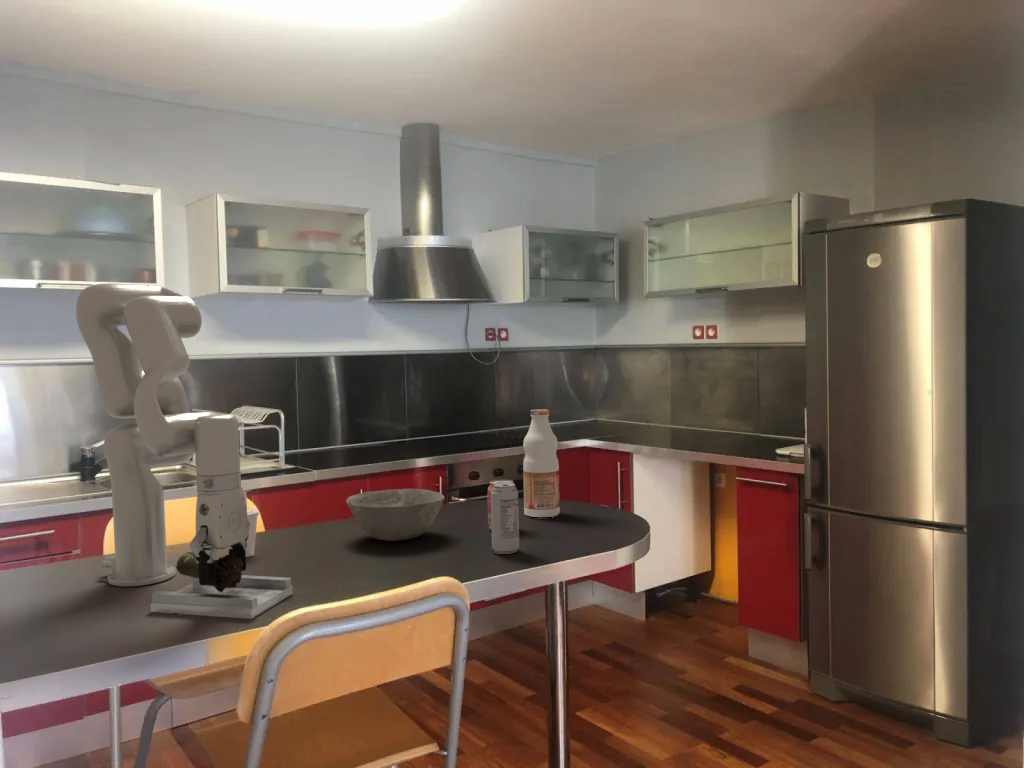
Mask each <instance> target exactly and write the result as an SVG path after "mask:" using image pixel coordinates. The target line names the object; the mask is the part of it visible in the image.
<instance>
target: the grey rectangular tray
mask: <svg viewBox="0 0 1024 768" xmlns="http://www.w3.org/2000/svg"><path fill="white" fill-rule="evenodd" d="M191 578H192V579H191V580H192V581H191V582H192V583H189V584H188V585H186V586H184V587H181V588H179V589H178V590H176V591H170V590H169V591H166V590H156V591H154V592H152V593H151V603H150V612H151V613H159V612H160V613H161V614H173V613H178V615H190V616H191V615H192V616H207V617H216V618H232V619H233V618H235V619H247V620H252V619H254V618H256V617H257V616H258V615H261V614H262V613H264V612H265V611H267V610H269V609H270V608H272V607H273V606H275V605H277V604H278V603H280V602H282V601H284V600H285V599H287V598H288V597H290V596H291V595H293V594H294V593H293V591H294V590H293V585H292V578H291V577H283V576H281V577H280V576H266V575H260V576H259V575H247V574H242V578H241V580H240V583H236V586H237V587H236V588H225V589H224V590H223V592H219V591H218V590H217V589H216V588H215V587H214V586H213V585H200V583H199V579H198V578H194V577H191Z"/></svg>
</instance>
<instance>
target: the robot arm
mask: <svg viewBox="0 0 1024 768" xmlns="http://www.w3.org/2000/svg"><path fill="white" fill-rule="evenodd" d="M75 306H76V307H75V315H76V316H75V318H76V321H77V325H78V330H79V332H80V334H81V337H82V339H83V341H84V342H85V344H86V346H87V348H88V350H89V353H90V355H91V359H92V361H93V367H94V372H95V376H96V381H97V384H98V385H97V386H98V389H99V393H100V398H101V401H102V405H103V408H104V411H105V412H106V413H107V415H109V416H110V417H112V418H115V419H135V421H136V422H131V423H130V422H129V423H124V424H122V425H121V424H120V425H118V426H116V427H113V428H112V429H111V430H109V431H108V433H107V434H106V436H105V438H104V440H103V441H104V442H103V451H104V455H105V459H106V464H107V468H108V472H109V473H108V474H109V478H110V480H109V481H110V486H111V503H112V519H113V521H112V522H113V537H114V539H113V540H114V555H106V556H105V557H104V560H102V561H101V562H100V563H101V564H100V566H101V568H107V569H109V568H110V569H111V570H110V571H111V572H110V574H108V575H107V583H108V584H109V585H112V586H115V587H138V586H139V587H140V586H148V585H152V584H153V585H154V584H157V583H162V582H164V581H166V580H169V579H171V578H173V577H174V576H175V575H176V573H177V572H176V567H175V566H173V565H170V564H168V556H167V555H168V554H167V533H166V511H165V493H164V489H163V486H162V484H161V482H160V481H159V479H157V477H156V476H155V475H154V474H153V472H152V469H157V468H163V467H168V466H175V465H180V464H184V463H187V462H189V461H190V460H191V459H192V458H193V456H194V455H195V472H196V489H197V490H196V491H197V495H196V496H197V497H196V505H195V506H196V507H195V508H196V509H195V536H194V537H193V538H192V540H191V541H190V542H189V548H190V550H191V552H193V556H194V558H195V559H196V563H198V566H199V583H200V585H216V584H217V572H216V562H213V561H214V560H215V557H216V554H217V552H218V550H224V549H227V548H228V554H236V556H237V557H238V558H239V557H240V558H241V560H242V563H243V568H242V572H244V571H246V570H247V557H246V550H245V549H246V547H247V543H246V541H247V539H248V536H249V535H248V534H249V528H250V522H249V521H248V517H247V509H248V507H247V508H246V501H245V496H244V492H245V491H244V489H243V486H242V480H241V479H242V475H241V455H240V439H239V438H240V436H239V435H240V434H239V433H240V432H239V422H238V421H239V420H238V419H237V417H235V415H232V414H226V413H224V414H223V413H222V414H218V413H215V412H212V411H198V412H197V411H196V412H190V408H189V403H188V400H187V399H188V398H187V394H186V392H185V387H184V385H183V383H182V381H181V380H180V379H179V377H181V376H182V375H183V374H184V373H186V372H187V371H188V369H189V367H190V365H191V359H190V357H189V354H188V352H187V349H186V347H185V344H184V342H183V340H182V339H190V338H193V337H195V336H196V335H198V334H199V332H200V330H201V328H202V320H203V319H202V314H201V310H200V309H199V306H198V305H197V304H196V302H195V301H194V300H193V299H191V298H190V297H189V296H188V295H185V294H182V293H180V292H177V291H175V290H172V289H170V288H168V287H164V286H161V285H154V284H131V283H128V284H127V283H98V284H92V285H90V286H87V287H85V288H84V289H83V290H81V292H80V293H79V295H78V297H77V299H76V305H75ZM118 326H121V327H122V326H126V327H125V328H126V329H127V331H128V335H129V337H130V338H129V337H128V336H127V335H126V334H125V333H124V332H122V331H121V330H120V329H119V328H118ZM229 547H230V548H229ZM207 551H209V553H207Z"/></svg>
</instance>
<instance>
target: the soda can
mask: <svg viewBox="0 0 1024 768" xmlns="http://www.w3.org/2000/svg"><path fill="white" fill-rule="evenodd" d="M496 483H514V481H513V480H511V479H494V480H490V481H489V486H488V488H487V522H488V528H489V529H490V530H491V531H492V525H491V491H492V489H493V487H494V486H493V485H494V484H496Z"/></svg>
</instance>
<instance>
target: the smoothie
mask: <svg viewBox="0 0 1024 768" xmlns="http://www.w3.org/2000/svg"><path fill="white" fill-rule="evenodd" d="M243 492H244V496H245V501H246V508H247V517H248V521H249V522H250V528H249V534H248V535H249V536H248V539H247V541H246V543H247V547H246V549H245V550H246V558H249V557H252V556H254V555H255V547H256V545H255V544H256V536H257V526H258V525H257V523H258V522H257V521H258V516H260V514H259V510H257V509H248V502H247V500H248V497H247V492H245V491H243Z"/></svg>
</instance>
